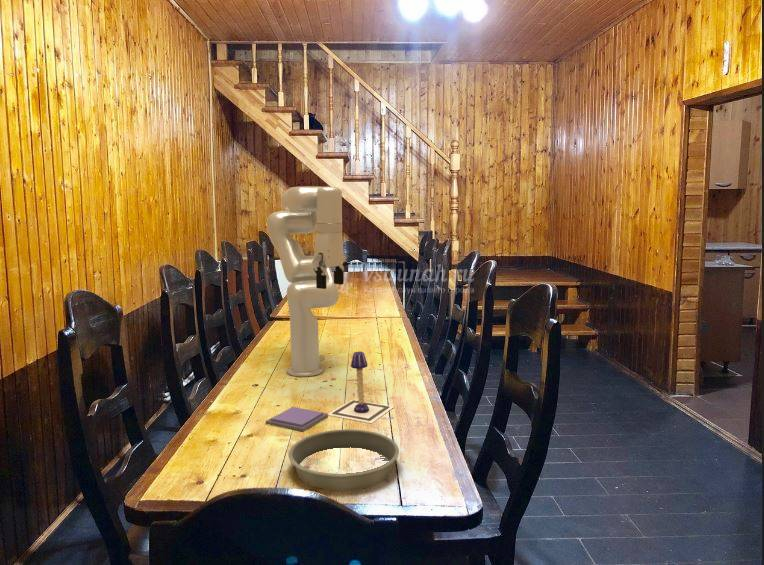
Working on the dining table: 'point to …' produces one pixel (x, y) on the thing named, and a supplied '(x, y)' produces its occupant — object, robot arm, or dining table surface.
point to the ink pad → (297, 419)
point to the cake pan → (344, 440)
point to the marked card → (367, 417)
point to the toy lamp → (360, 380)
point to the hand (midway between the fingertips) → (330, 286)
